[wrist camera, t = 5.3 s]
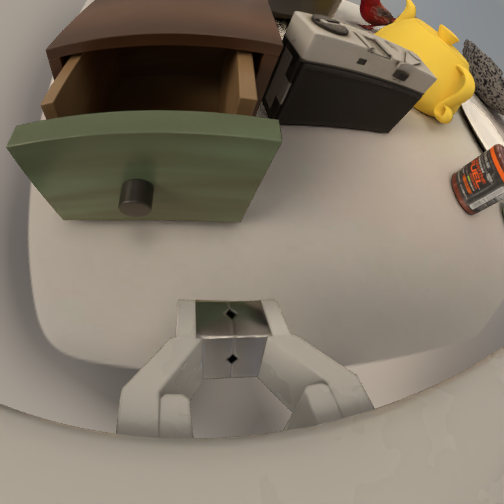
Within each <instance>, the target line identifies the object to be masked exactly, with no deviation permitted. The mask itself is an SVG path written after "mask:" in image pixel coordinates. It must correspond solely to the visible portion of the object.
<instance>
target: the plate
mask: <svg viewBox="0 0 504 504" xmlns="http://www.w3.org/2000/svg"><path fill="white" fill-rule="evenodd" d="M461 107H462V109H463V112H464V114H465V116H466V118H467V120H468V122H469V125H470V127H471V129H472V131H473V133H474V134H475V136H476V138H477V140H478V142H479V143H480V145H481V147H482V148H483V150H484V152H486V151H487V150H488V149H490V148H491V147H493V146H494V145H496V144H501V145H503V146H504V140H503V139H502V137H501V135H500V134H499V132H498V131H497V129H496V128H495V127H494V125H493V124H492V123H491V121H490V120H489V119H488V117H487V116H486V115H485V114H484V113H483V112H482V111H481V110H480V108H479V107H477V106H476V105H475V104H474V103H473V102H472V101H470V100H467V101H466V102H464V103H462V104H461Z"/></svg>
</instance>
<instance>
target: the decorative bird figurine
mask: <svg viewBox="0 0 504 504" xmlns="http://www.w3.org/2000/svg"><path fill="white" fill-rule="evenodd" d="M360 13H361V16H362V17H363V19H364V20H365V21H366V22H368V23H369V24H371V25H368V26H366V25H360V26H362V27H363V28H368V29H370V30H371V28H372V27H375V26H386V25H389V24H392V23H393V22H394V21H395V20H396V19H395V18H393V16H392V15H391V13H390V12H389V11H388V10H387V9H386V8H384V7H383V6H382V4H381V3H380V0H361V4H360ZM372 29H373V28H372ZM373 30H374V29H373Z"/></svg>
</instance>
